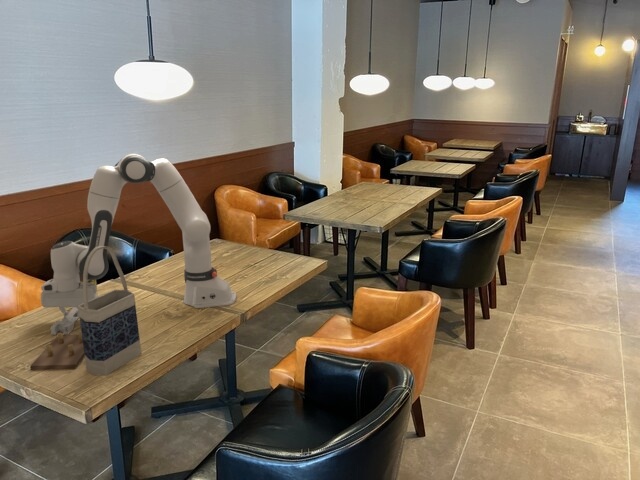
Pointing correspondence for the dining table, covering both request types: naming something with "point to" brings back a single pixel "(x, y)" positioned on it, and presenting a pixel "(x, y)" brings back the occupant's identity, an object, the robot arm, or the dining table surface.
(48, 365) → the peg rack
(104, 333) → the bag
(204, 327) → the dining table surface
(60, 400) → the dining table surface
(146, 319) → the dining table surface
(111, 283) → the dining table surface
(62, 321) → the ball-tipped notched rod
